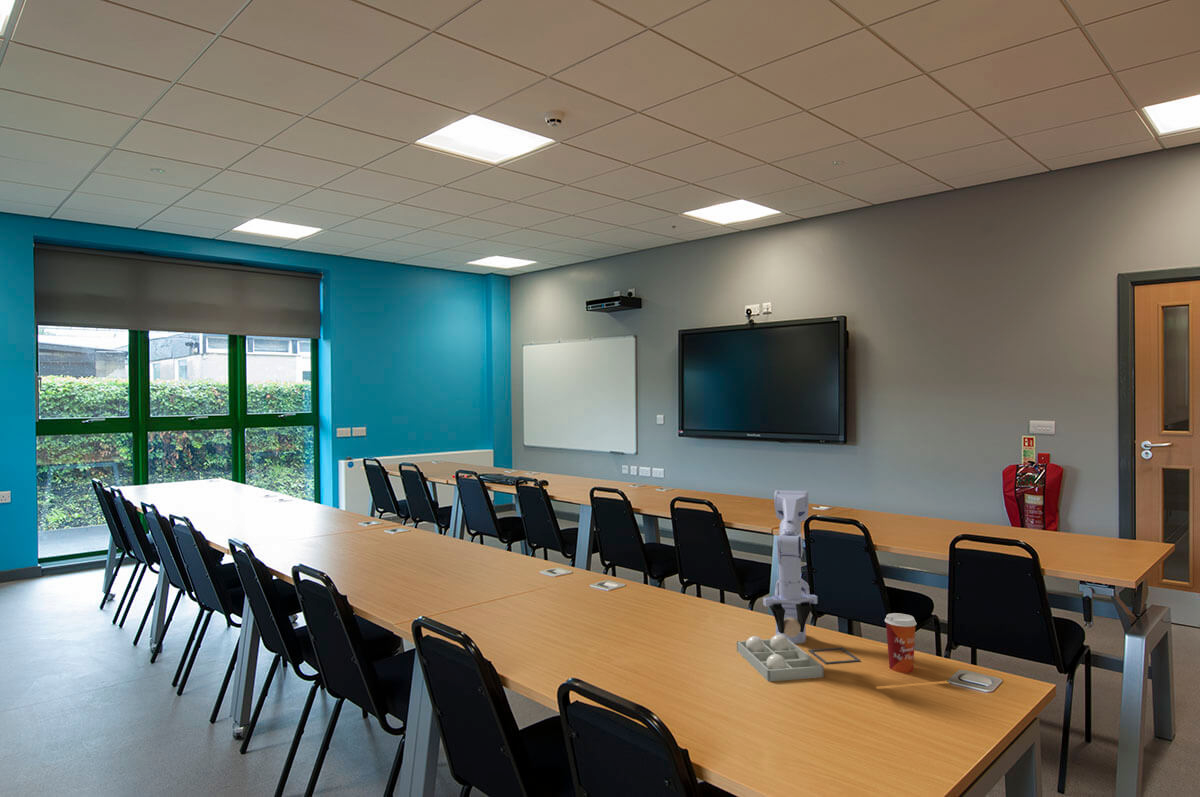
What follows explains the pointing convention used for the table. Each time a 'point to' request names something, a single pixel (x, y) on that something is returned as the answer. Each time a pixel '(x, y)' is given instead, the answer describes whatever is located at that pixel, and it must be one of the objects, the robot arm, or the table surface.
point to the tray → (796, 660)
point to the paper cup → (900, 641)
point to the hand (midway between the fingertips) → (790, 631)
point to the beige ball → (791, 627)
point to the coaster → (834, 661)
